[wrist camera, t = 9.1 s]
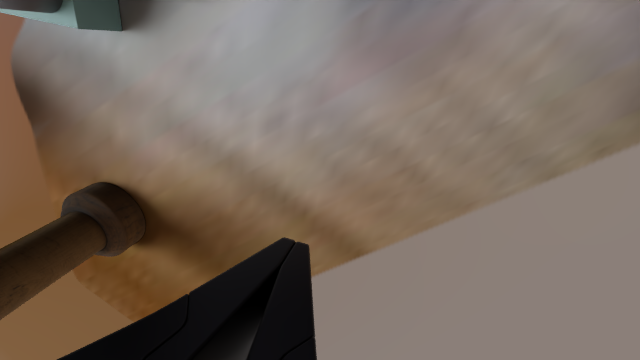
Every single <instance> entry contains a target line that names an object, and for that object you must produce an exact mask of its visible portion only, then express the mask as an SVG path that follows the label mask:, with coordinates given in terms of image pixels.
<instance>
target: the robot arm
mask: <svg viewBox="0 0 640 360" xmlns="http://www.w3.org/2000/svg"><path fill="white" fill-rule="evenodd" d="M314 330H315V329H314V315H313V300H312V283H311V268H310V252H309V245H308V244H305V243H301V242H295V241H294V240H291V239H288V238H281V239H280V240H278V241H276V242H275V243H273V244H271V245H269V246H268V247H266V248H264V249H263V250H261V251H259V252H258V253H256V254H254V255H252V256H251V257H249V258H247V259H246V260H244V261H242V262H240V263H239V264H237V265H235V266H234V267H232V268H230V269H229V270H227V271H225V272H223V273H222V274H220V275H218V276H217V277H215V278H213V279H212V280H210V281H208V282H206V283H205V284H203V285H201V286H200V287H198V288H196V289H195V290H193V291H191V292H190V293H189V295H188V294H186V295H184V296H182V297H181V298H179V299H177V300H176V301H174V302H172V303H170V304H168V305H167V306H165V307H163V308H161V309H159V310H158V311H156V312H154V313H152V314H150V315H148V316H146V317H144V318H142V319H140V320H138V321H136V322H134V323H132V324H130V325H128V326H127V327H125V328H122V329H120V330H118V331H116V332H114V333H112V334H110V335H108V336H105V337H103V338H101V339H99V340H97V341H95V342H93V343H91V344H89V345H87V346H85V347H83V348H80V349H78V350H76V351H74V352H72V353H70V354H68V355H66V356H64V357H61V358H59V359H57V360H317V356H316V344H315V331H314Z"/></svg>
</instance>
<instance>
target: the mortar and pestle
mask: <svg viewBox="0 0 640 360" xmlns="http://www.w3.org/2000/svg"><path fill="white" fill-rule="evenodd" d="M144 232H145V219H144V216H143V213H142V211H141V209H140V208H139V206H138V205H137V203H136V202H135V201H134V200H133V199H132V198H131V197H130V196H129V195H128V194H127V193H126V192H125V191H123V190H122V189H120V188H118V187H116V186H114V185H112V184H108V183H95V184H92V185H90V186H87V187H85V188H83V189H81V190H79V191H77V192H75V193H73V194H71V195H69V196H68V197H67V198H66V199H65V200H64V202H63V205H62V212H61V218H59V219H57V220H55V221H53V222H51V223H49V224H47V225H45V226H44V227H42V228H40V229H38V230H36V231H34V232H32V233H30V234H28V235H26V236H24V237H22V238H20V239H19V240H17V241H15V242H13V243H11V244H9V245H7V246H5V247H3V248H1V249H0V320H1V319H2V318H4V317H5V316H7V315H8V314H9V313H11V312H12V311H14V310H15V309H16V308H18V307H19V306H21V305H22V304H24V303H25V302H26V301H28V300H29V299H31V298H32V297H34V296H35V295H36V294H38V293H39V292H40V291H42V290H43V289H45V288H46V287H48V286H49V285H51V284H52V283H53V282H55V281H56V280H58V279H59V278H61V277H62V276H64V275H65V274H67V273H68V272H69V271H71V270H72V269H74V268H75V267H77V266H78V265H80V264H81V263H83V262H84V261H85V260H87V259H88V258H90V257H91V256H93V255H94V254H95V255H102V256H117V255H119V254H121V253H122V252H124V251H125V250H126V249H128V248H129V247H130V246H132V245H133V244H135V243H136V242H137V241H139V240H140V239H141V238H142V236H143V235H144Z"/></svg>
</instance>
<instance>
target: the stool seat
mask: <svg viewBox="0 0 640 360" xmlns="http://www.w3.org/2000/svg"><path fill="white" fill-rule="evenodd" d="M0 12H1V13H6V14H11V15H16V16H21V17H25V18H30V19H34V20H39V21H44V22H48V23H53V24H58V25H63V26H67V27H72V28H77V29H91V30H110V31H122V27H121V19H120V12H119V4H118V0H0Z"/></svg>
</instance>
